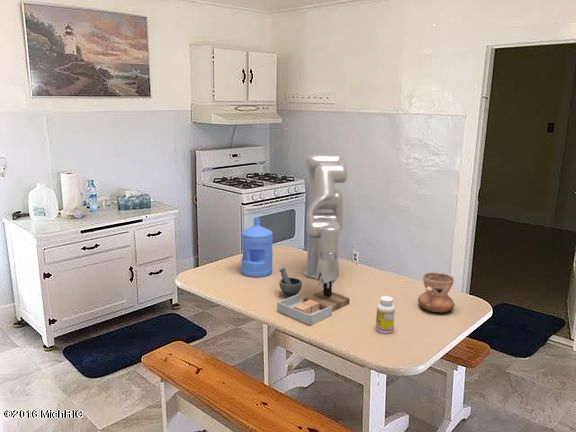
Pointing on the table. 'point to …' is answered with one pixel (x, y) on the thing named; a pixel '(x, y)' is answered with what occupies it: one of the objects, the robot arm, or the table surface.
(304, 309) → the tile
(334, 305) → the board
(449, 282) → the ceramic jug
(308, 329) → the table surface
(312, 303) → the tile
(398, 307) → the table surface
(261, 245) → the water jug
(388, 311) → the supplement bottle
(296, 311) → the tray
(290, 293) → the mortar and pestle
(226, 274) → the table surface
